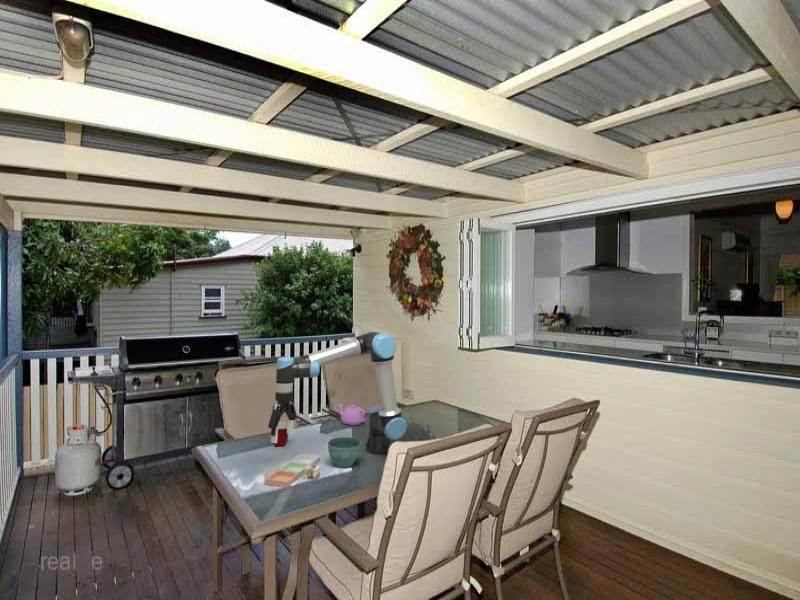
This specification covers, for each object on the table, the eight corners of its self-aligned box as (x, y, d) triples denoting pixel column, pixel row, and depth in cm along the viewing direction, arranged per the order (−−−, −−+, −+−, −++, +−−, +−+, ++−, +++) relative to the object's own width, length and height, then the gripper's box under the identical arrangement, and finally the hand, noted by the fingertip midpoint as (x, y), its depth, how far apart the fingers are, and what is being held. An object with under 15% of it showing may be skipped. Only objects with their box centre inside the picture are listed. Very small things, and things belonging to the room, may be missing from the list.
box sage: (309, 469, 214) (309, 464, 214) (299, 478, 204) (299, 472, 204) (289, 466, 217) (289, 461, 217) (278, 474, 207) (278, 469, 207)
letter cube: (319, 477, 206) (320, 465, 206) (315, 481, 201) (315, 470, 201) (309, 475, 207) (310, 464, 207) (304, 479, 203) (305, 468, 202)
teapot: (369, 422, 295) (370, 404, 295) (360, 428, 282) (360, 409, 282) (342, 418, 302) (343, 401, 302) (332, 423, 290) (332, 405, 290)
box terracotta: (298, 478, 204) (298, 472, 204) (286, 487, 193) (287, 482, 193) (277, 475, 206) (277, 469, 206) (264, 484, 196) (265, 478, 196)
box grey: (319, 461, 225) (319, 456, 225) (310, 469, 215) (310, 463, 215) (300, 458, 228) (300, 453, 228) (289, 466, 217) (290, 461, 217)
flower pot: (346, 473, 211) (346, 450, 211) (320, 465, 219) (320, 443, 219) (366, 463, 224) (367, 441, 224) (341, 456, 233) (341, 435, 233)
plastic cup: (278, 451, 238) (278, 428, 238) (265, 446, 244) (266, 424, 244) (294, 445, 246) (295, 423, 246) (282, 441, 253) (282, 420, 253)
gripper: (290, 386, 219) (289, 429, 219) (261, 396, 195) (259, 445, 195) (304, 387, 217) (303, 431, 217) (276, 398, 193) (274, 447, 193)
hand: (282, 438), depth 206 cm, fingers open, 13 cm apart
